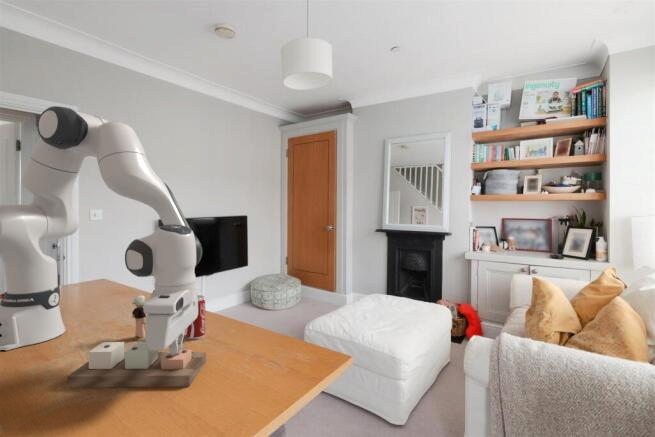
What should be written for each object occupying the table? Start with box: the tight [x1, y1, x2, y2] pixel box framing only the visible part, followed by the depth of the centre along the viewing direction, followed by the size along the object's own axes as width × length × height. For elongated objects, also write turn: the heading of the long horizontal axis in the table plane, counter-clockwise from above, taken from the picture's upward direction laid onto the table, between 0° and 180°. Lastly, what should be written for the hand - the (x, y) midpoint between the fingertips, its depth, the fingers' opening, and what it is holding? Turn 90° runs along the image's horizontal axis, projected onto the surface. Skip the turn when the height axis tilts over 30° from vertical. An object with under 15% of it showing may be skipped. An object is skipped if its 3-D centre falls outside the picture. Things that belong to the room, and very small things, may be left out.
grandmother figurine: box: [131, 295, 147, 342], centre depth 94 cm, size 8×4×13 cm, turn 65°
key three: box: [161, 348, 192, 369], centre depth 75 cm, size 5×5×4 cm
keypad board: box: [66, 351, 207, 388], centre depth 75 cm, size 26×11×2 cm, turn 93°
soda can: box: [186, 294, 206, 341], centre depth 96 cm, size 5×5×12 cm
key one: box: [87, 341, 125, 370], centre depth 75 cm, size 5×5×4 cm
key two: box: [124, 341, 159, 369], centre depth 75 cm, size 5×5×4 cm
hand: (175, 351), depth 75 cm, fingers closed
